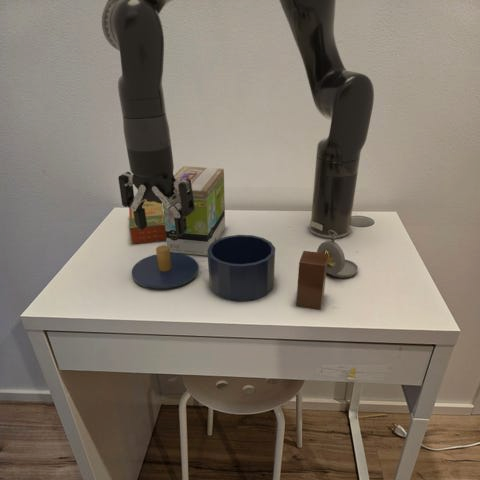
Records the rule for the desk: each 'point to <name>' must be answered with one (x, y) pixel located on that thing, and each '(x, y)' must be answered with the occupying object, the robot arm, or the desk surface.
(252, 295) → the tin
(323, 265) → the block
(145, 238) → the carton
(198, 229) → the tea box
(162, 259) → the tin lid
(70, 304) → the desk surface
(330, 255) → the pocket watch
